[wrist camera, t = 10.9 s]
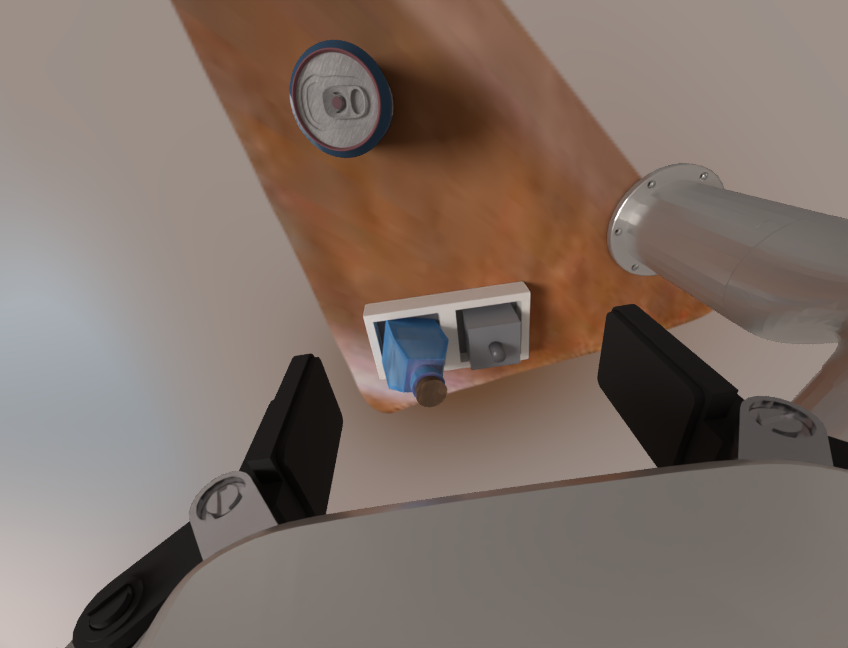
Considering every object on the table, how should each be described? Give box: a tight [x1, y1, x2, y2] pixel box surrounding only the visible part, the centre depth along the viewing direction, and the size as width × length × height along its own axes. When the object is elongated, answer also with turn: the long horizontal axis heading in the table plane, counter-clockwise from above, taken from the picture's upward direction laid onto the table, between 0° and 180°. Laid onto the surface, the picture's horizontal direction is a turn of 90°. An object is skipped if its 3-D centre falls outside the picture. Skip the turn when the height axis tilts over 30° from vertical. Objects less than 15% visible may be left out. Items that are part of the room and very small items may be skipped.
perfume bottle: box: [382, 318, 449, 407], centre depth 39 cm, size 6×6×12 cm
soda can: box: [290, 40, 394, 158], centre depth 28 cm, size 7×7×12 cm
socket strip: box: [363, 281, 530, 380], centre depth 45 cm, size 20×10×3 cm, turn 98°
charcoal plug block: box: [462, 302, 521, 370], centre depth 42 cm, size 6×6×7 cm
